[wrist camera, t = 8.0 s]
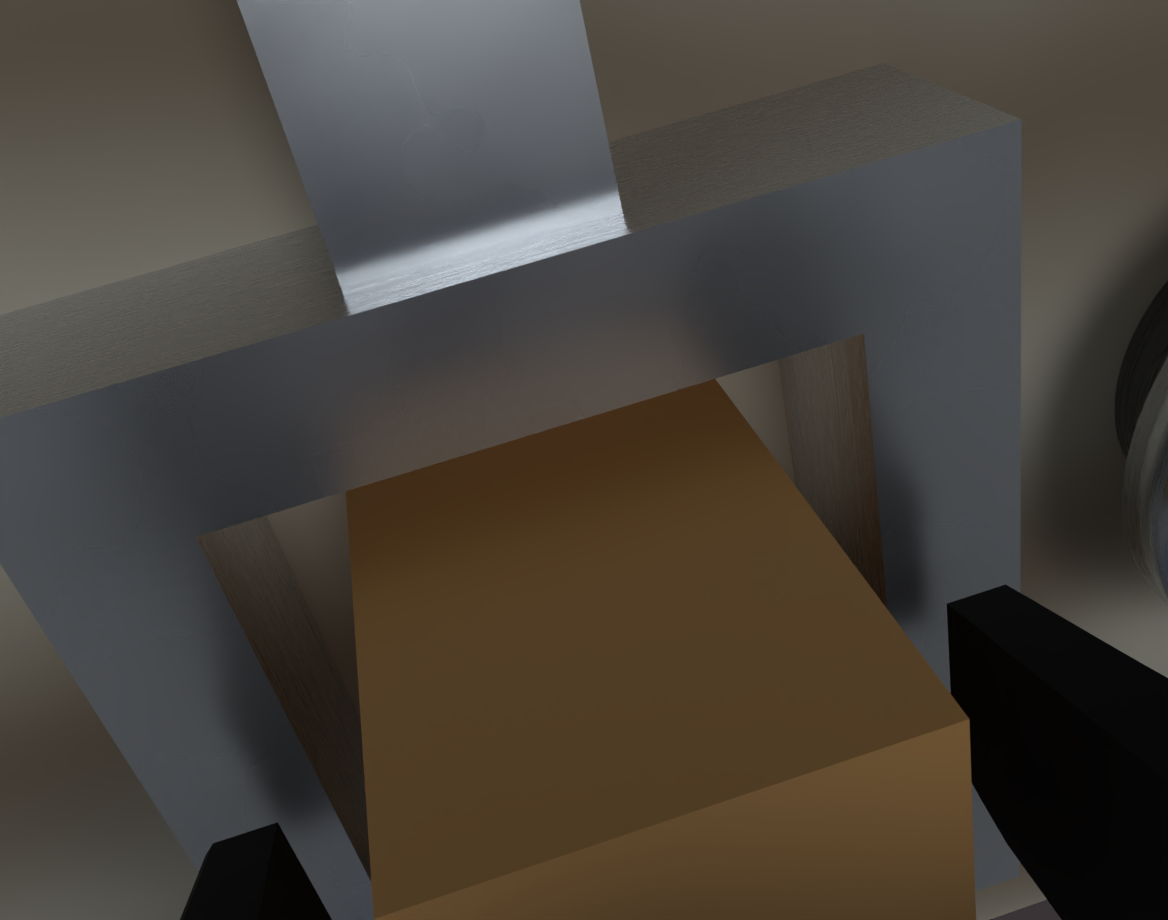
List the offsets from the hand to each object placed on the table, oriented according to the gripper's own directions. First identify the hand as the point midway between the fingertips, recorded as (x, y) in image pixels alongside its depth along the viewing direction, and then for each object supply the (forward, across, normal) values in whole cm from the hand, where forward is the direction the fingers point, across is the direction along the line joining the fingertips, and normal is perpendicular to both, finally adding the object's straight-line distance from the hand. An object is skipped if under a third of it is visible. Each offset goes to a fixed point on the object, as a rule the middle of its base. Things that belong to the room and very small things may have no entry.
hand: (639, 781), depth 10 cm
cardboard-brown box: (+3, 0, 0) cm, 3 cm away
